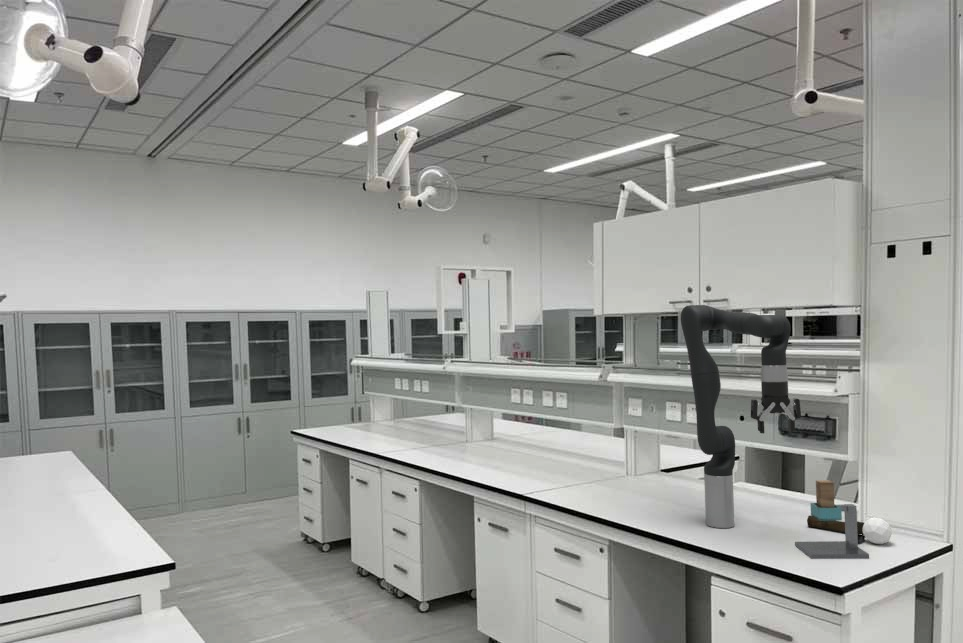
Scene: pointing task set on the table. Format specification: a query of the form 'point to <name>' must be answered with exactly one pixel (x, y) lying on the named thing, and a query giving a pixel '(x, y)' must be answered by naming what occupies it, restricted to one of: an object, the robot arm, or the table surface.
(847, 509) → the cup bracket
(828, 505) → the brown wooden block
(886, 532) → the ball
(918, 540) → the table surface
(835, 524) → the hand tool
